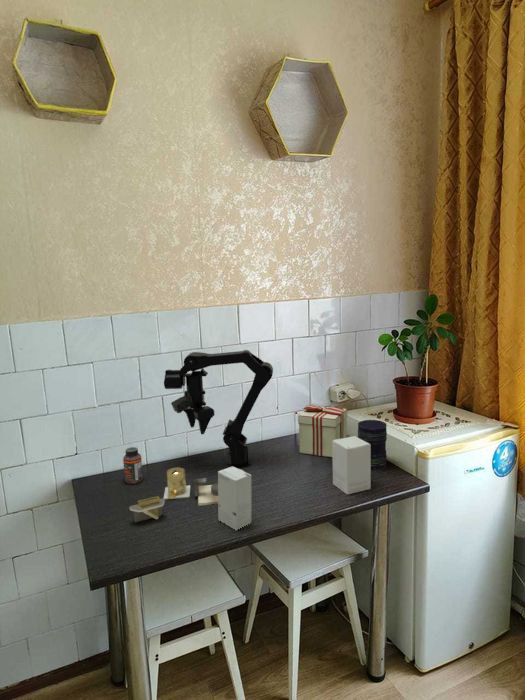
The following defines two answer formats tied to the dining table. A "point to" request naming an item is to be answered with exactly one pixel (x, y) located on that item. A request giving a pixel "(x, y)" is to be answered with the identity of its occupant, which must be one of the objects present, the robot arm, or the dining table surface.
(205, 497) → the cream slotted block
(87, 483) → the dining table surface
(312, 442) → the gift box
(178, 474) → the brass bell
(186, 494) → the grey mat
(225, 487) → the skincare box
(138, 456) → the supplement bottle
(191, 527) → the dining table surface
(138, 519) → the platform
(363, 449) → the supplement box
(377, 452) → the storage jar
